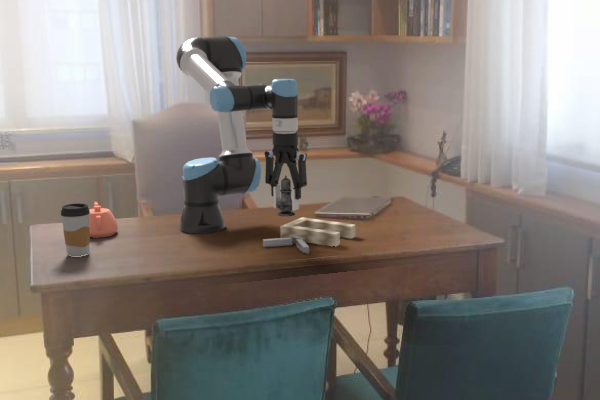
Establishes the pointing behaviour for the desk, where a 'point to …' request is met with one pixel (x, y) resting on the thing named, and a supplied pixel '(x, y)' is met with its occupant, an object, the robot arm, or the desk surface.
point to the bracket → (318, 231)
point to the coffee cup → (76, 228)
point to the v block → (288, 242)
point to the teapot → (101, 222)
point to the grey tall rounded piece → (285, 198)
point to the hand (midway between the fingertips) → (286, 208)
